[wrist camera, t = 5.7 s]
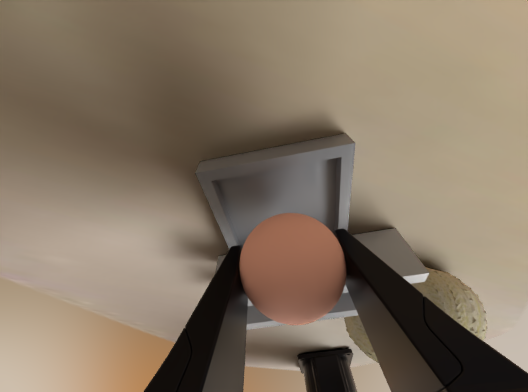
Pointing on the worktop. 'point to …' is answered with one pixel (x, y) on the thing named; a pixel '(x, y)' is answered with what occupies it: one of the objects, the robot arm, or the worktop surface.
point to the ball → (292, 268)
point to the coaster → (280, 185)
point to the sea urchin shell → (445, 297)
